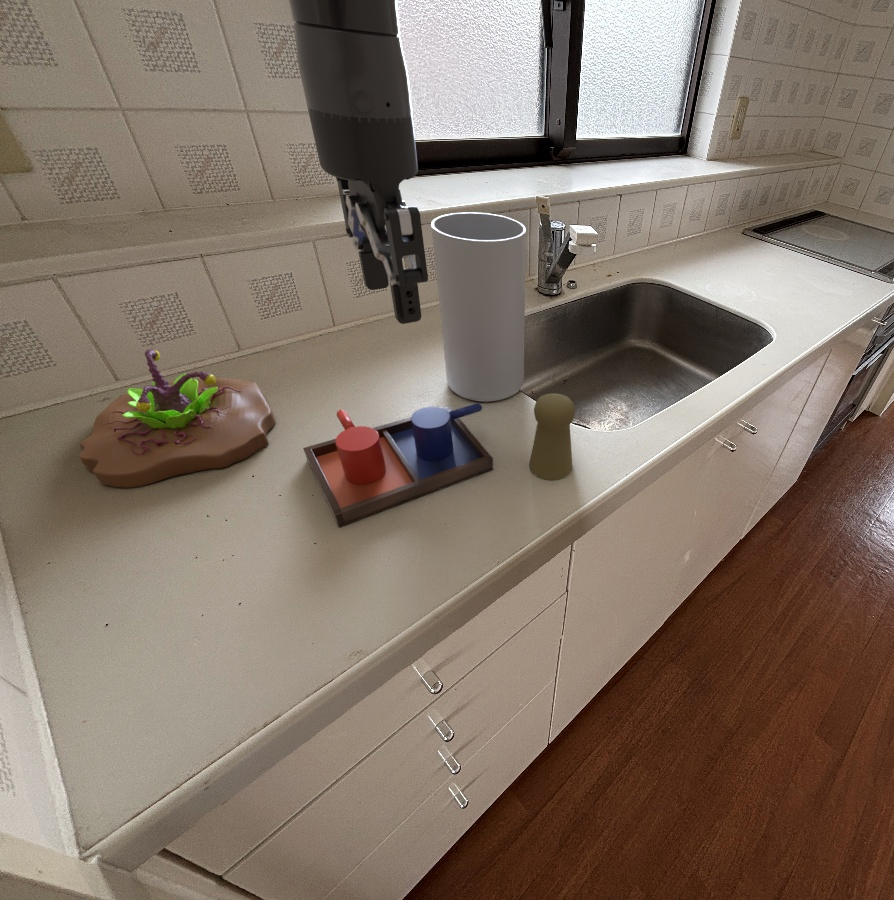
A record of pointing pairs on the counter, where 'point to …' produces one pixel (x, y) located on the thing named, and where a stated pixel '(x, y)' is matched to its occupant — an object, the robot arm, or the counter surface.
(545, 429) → the olive pawn figure
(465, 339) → the cylinder vase
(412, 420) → the blue scoop
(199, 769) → the counter surface
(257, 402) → the plant
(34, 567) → the counter surface
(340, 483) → the tray
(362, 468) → the red scoop
